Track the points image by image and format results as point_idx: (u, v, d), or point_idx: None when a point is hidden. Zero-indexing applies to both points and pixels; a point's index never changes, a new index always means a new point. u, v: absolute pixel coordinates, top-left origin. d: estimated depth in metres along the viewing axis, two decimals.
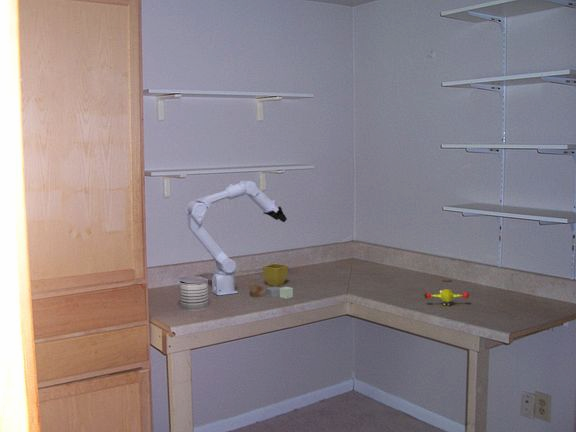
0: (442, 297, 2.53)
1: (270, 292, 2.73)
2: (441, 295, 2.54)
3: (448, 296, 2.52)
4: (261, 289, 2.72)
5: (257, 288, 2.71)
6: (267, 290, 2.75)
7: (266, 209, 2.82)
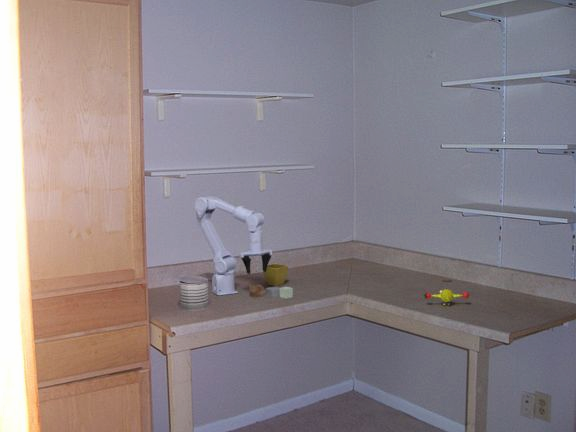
0: (442, 297, 2.53)
1: (270, 292, 2.73)
2: (441, 295, 2.54)
3: (448, 296, 2.52)
4: (261, 289, 2.72)
5: (257, 288, 2.71)
6: (267, 290, 2.75)
7: None
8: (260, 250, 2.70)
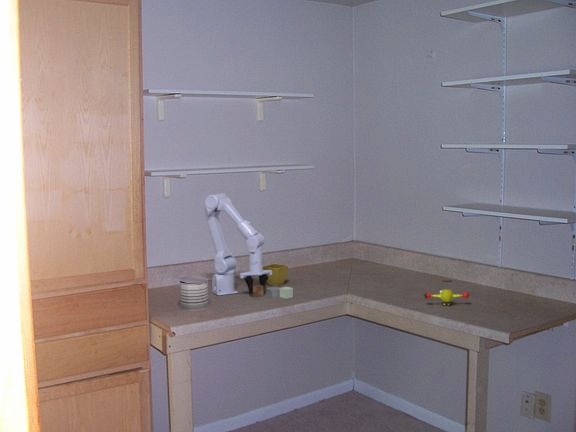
0: (442, 297, 2.53)
1: (270, 292, 2.73)
2: (441, 295, 2.54)
3: (448, 296, 2.52)
4: (261, 289, 2.72)
5: (257, 288, 2.71)
6: (267, 290, 2.75)
7: None
8: (260, 271, 2.71)
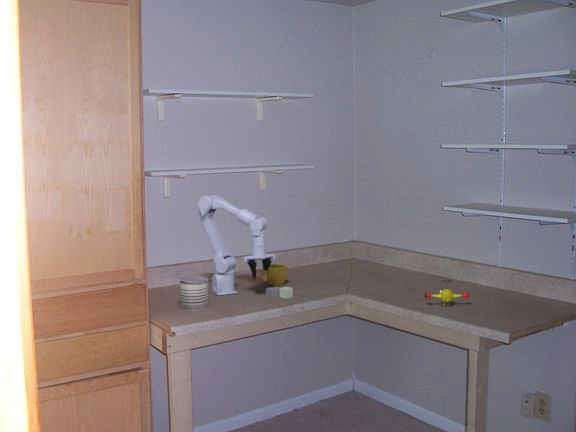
0: (442, 297, 2.53)
1: (270, 292, 2.73)
2: (441, 295, 2.54)
3: (448, 296, 2.52)
4: (264, 273, 2.72)
5: (260, 272, 2.71)
6: (267, 290, 2.75)
7: None
8: (263, 254, 2.70)
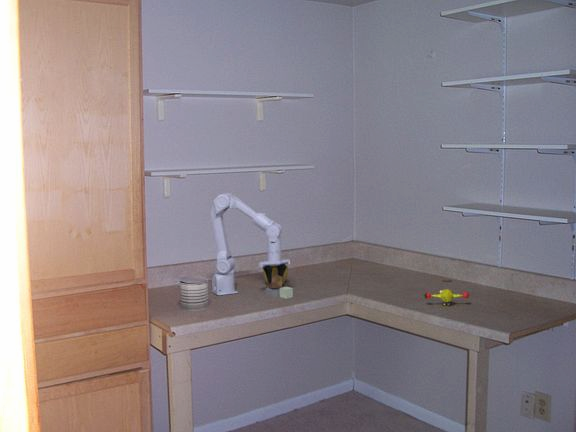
0: (442, 297, 2.53)
1: (271, 292, 2.73)
2: (441, 295, 2.54)
3: (448, 296, 2.52)
4: (280, 279, 2.74)
5: (276, 278, 2.73)
6: (267, 290, 2.75)
7: None
8: (279, 260, 2.72)
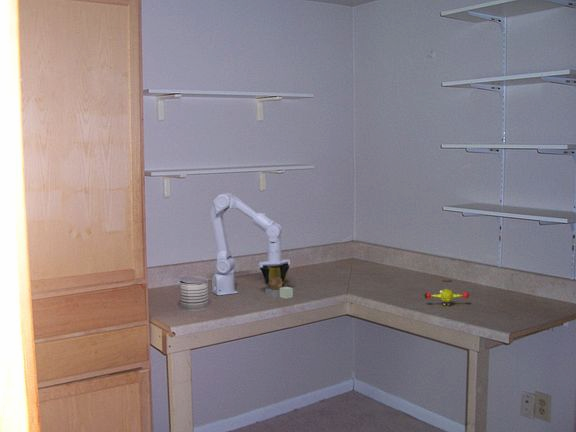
0: (442, 297, 2.53)
1: (271, 292, 2.73)
2: (441, 295, 2.54)
3: (448, 296, 2.52)
4: (280, 282, 2.74)
5: (276, 281, 2.73)
6: (267, 290, 2.75)
7: None
8: (279, 260, 2.72)
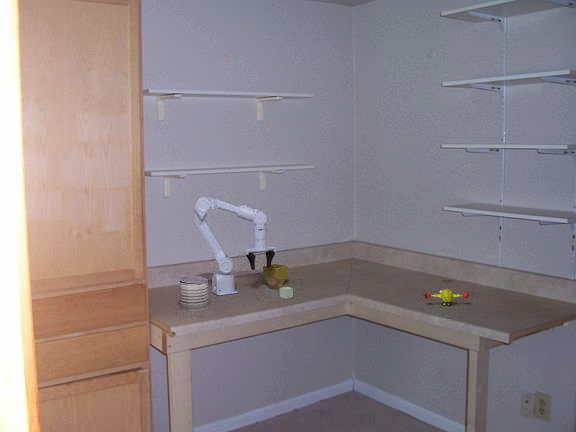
0: (442, 297, 2.53)
1: (270, 292, 2.73)
2: (441, 295, 2.54)
3: (448, 296, 2.52)
4: (280, 282, 2.74)
5: (276, 281, 2.73)
6: (267, 290, 2.75)
7: None
8: (264, 247, 2.77)
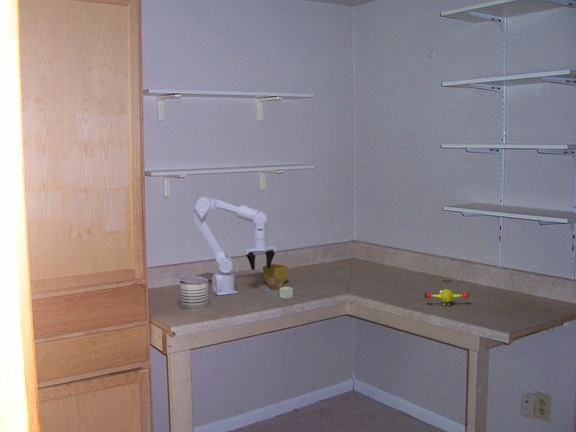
0: (442, 297, 2.53)
1: (270, 292, 2.73)
2: (441, 295, 2.54)
3: (448, 296, 2.52)
4: (280, 282, 2.74)
5: (276, 281, 2.73)
6: (267, 290, 2.75)
7: None
8: (264, 247, 2.77)
